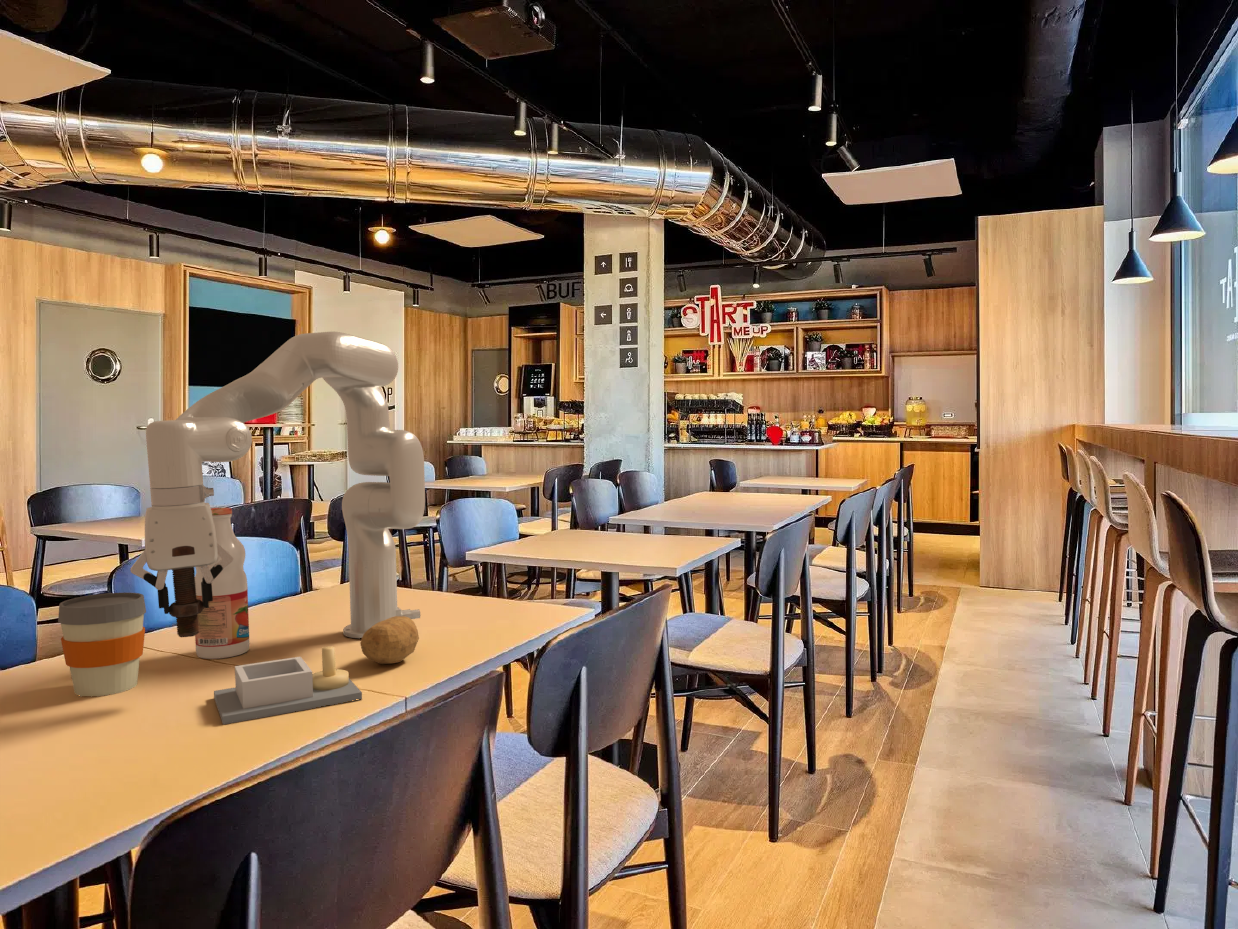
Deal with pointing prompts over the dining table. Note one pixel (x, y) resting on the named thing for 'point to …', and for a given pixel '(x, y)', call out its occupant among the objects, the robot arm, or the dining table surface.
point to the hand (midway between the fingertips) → (186, 608)
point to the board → (284, 688)
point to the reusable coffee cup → (103, 641)
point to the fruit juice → (224, 598)
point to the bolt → (185, 597)
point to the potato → (390, 640)
